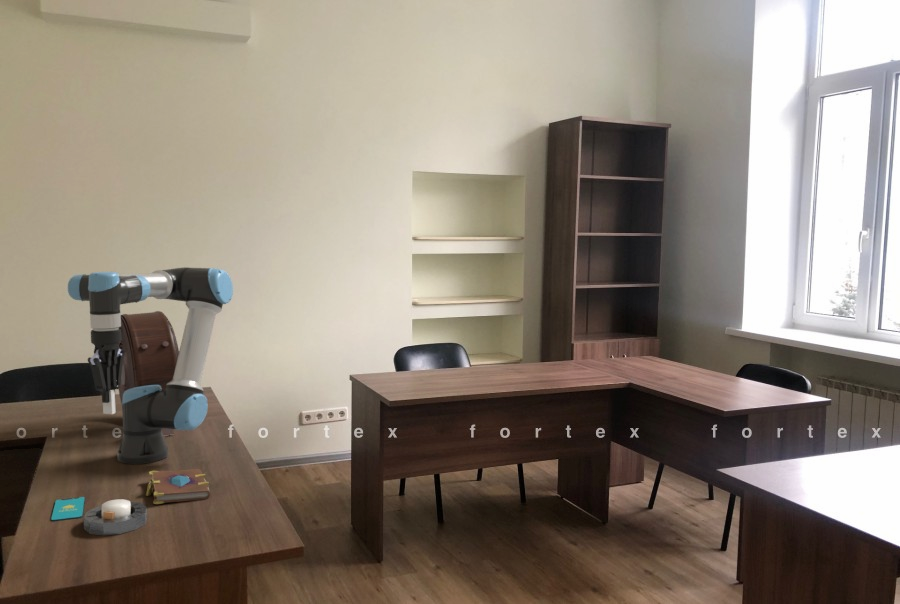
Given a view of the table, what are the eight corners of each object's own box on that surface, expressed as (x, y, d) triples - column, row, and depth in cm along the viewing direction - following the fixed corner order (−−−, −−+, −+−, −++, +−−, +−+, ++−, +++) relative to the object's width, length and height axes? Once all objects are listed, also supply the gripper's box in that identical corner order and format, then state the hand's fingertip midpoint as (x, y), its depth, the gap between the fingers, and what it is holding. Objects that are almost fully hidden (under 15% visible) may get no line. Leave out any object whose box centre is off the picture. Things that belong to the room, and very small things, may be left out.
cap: (111, 516, 185) (111, 497, 185) (136, 518, 185) (136, 499, 185) (94, 528, 178) (94, 509, 177) (120, 531, 177) (120, 511, 177)
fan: (186, 437, 258) (185, 316, 254) (132, 444, 248) (130, 318, 244) (161, 412, 292) (159, 305, 288) (112, 418, 282) (110, 307, 278)
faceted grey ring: (110, 510, 190) (110, 499, 189) (157, 516, 187) (157, 504, 187) (71, 531, 176) (71, 519, 176) (122, 537, 173) (122, 525, 173)
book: (200, 475, 222) (200, 459, 222) (211, 503, 200) (211, 485, 200) (142, 479, 215) (143, 463, 215) (147, 508, 193) (148, 490, 192)
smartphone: (50, 519, 182) (55, 499, 195) (50, 522, 182) (55, 502, 195) (82, 516, 185) (85, 496, 198) (82, 519, 185) (85, 499, 198)
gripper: (108, 324, 203) (112, 406, 206) (77, 331, 191) (81, 418, 193) (133, 325, 202) (136, 408, 205) (102, 333, 189) (106, 420, 192)
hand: (109, 413), depth 199 cm, fingers closed
